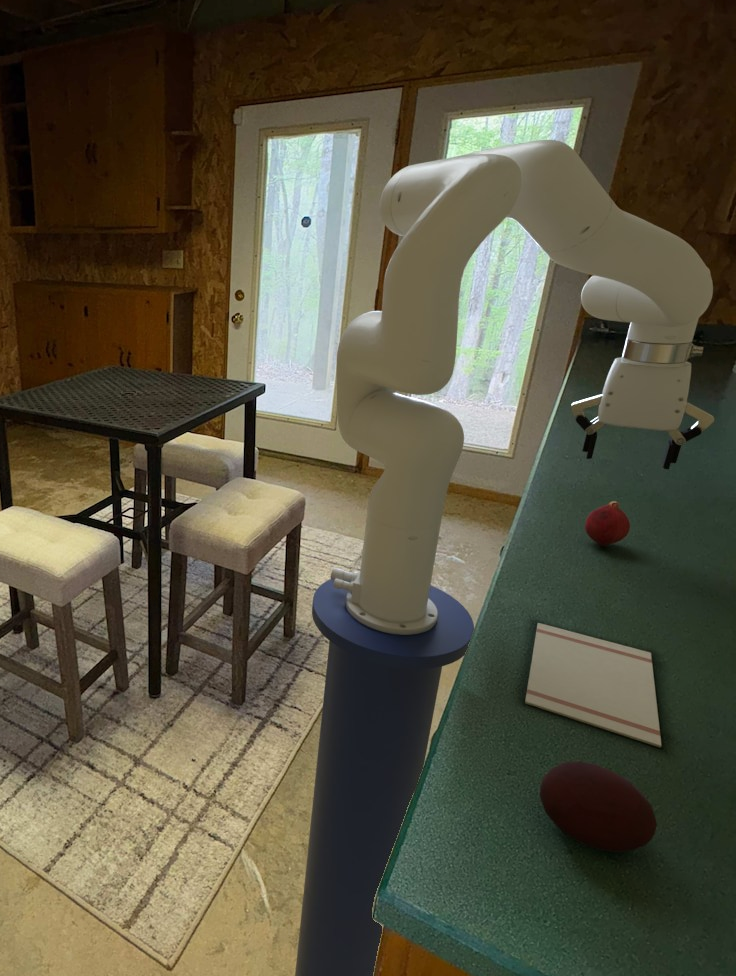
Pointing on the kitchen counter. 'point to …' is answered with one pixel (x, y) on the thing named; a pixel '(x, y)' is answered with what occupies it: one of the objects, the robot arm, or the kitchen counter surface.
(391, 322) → the robot arm
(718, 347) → the kitchen counter surface
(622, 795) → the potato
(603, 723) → the napkin
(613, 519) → the pomegranate
